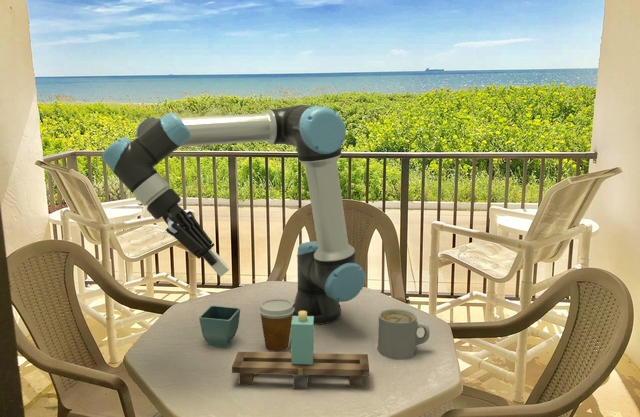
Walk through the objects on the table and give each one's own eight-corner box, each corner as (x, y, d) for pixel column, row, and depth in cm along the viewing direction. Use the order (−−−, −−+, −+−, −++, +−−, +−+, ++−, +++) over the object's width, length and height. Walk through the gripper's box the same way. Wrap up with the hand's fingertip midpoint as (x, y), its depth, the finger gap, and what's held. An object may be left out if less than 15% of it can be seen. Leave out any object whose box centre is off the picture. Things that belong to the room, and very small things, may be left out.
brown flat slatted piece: (232, 387, 134) (231, 368, 133) (238, 369, 143) (238, 350, 142) (368, 390, 133) (369, 371, 132) (367, 371, 142) (367, 353, 141)
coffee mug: (375, 356, 150) (376, 320, 148) (380, 340, 159) (381, 306, 157) (427, 363, 147) (428, 326, 145) (429, 346, 156) (431, 311, 154)
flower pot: (230, 351, 152) (229, 320, 150) (199, 348, 154) (198, 317, 152) (241, 337, 161) (240, 307, 159) (212, 335, 162) (210, 305, 160)
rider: (291, 369, 135) (291, 316, 132) (293, 359, 140) (292, 307, 137) (312, 370, 135) (312, 316, 132) (313, 360, 140) (313, 308, 137)
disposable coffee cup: (299, 341, 158) (299, 300, 156) (286, 356, 150) (286, 313, 147) (268, 336, 161) (267, 296, 159) (253, 351, 153) (252, 308, 150)
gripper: (156, 201, 140) (220, 272, 143) (135, 213, 127) (206, 292, 130) (178, 182, 138) (243, 254, 141) (159, 192, 126) (230, 272, 128)
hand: (225, 272), depth 136 cm, fingers closed
